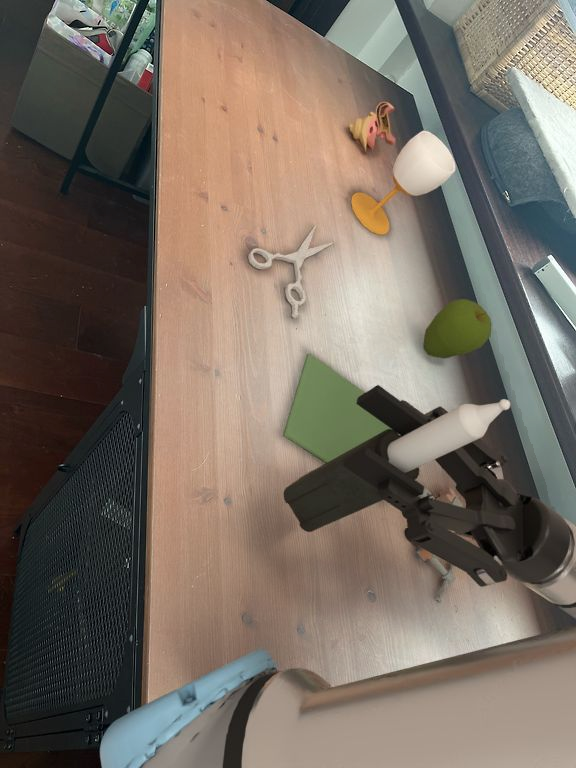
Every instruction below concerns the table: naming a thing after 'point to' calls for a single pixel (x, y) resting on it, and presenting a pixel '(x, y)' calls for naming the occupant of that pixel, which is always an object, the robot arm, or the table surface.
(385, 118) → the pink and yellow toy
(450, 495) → the clamp
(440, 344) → the green rounded fruit
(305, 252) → the scissors
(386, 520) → the table surface
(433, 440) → the candle
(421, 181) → the cup
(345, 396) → the cloth
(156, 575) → the table surface
